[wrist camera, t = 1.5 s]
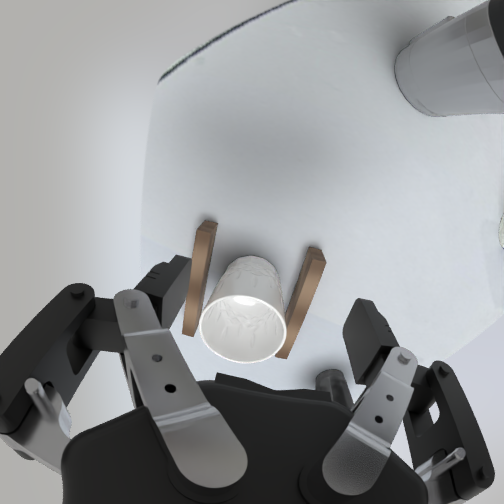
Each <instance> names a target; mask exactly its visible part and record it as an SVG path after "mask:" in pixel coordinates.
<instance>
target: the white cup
mask: <svg viewBox="0 0 504 504" xmlns="http://www.w3.org/2000/svg"><path fill="white" fill-rule="evenodd" d="M199 331H200V335H201V338H202V340H203V341H204V343H205V344H206V346H207V347H208V348H209V349H210V350H211V351H213V352H214V353H215V354H217V355H218V356H220V357H222V358H224V359H226V360H229V361H233V362H237V363H256V362H260V361H263V360H266V359H268V358H270V357H272V356H273V355H275V354H276V353H277V352H278V351H279V350H280V349H281V347H282V346H283V344H284V342H285V339H286V333H287V330H286V321H285V312H284V302H283V296H282V290H281V286H280V278H279V275H278V273H277V271H276V269H275V267H274V266H273V265H272V264H270V263H269V262H268V261H267V260H265V259H264V258H260V257H256V256H246V257H240V258H238V259H236V260H235V261H233V262H232V263H231V264H229V265H228V267H227V269H226V271H225V273H224V275H223V276H222V277H221V278H220V280H219V282H218V283H217V285H216V287H215V289H214V291H213V293H212V295H211V297H210V299H209V301H208V303H207V304H206V306H205V308H204V310H203V312H202V314H201V316H200V320H199Z"/></svg>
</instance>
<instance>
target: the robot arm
mask: <svg viewBox="0 0 504 504" xmlns="http://www.w3.org/2000/svg"><path fill="white" fill-rule="evenodd" d="M395 75H396V79H397V82H398V85H399V87H400V89H401V91H402V93H403V94H404V96H405V97H406V99H407V100H408V101H409V102H410V104H412V105H413V106H414V107H415V108H416V109H417V110H419V111H420V112H422V113H424V114H426V115H429V116H434V117H440V116H443V117H445V116H453V115H471V114H504V0H488V1H486V2H483V3H481V4H480V5H478V6H476V7H474V8H472V9H470V10H468V11H467V12H465V13H463V14H461V15H459V16H457V17H456V18H454V17H452V16H448V17H446V18H445V19H443V20H441V21H440V22H438V23H437V24H435V25H433V26H432V27H430V28H429V29H427V30H426V31H424V32H423V33H421V34H420V35H418V36H417V37H415V38H414V39H412V40H411V41H410V45H409V46H408V47H406V48H405V49H403V50H402V51H401V52H400V53H399V55H398V57H397V59H396V63H395ZM191 266H192V259H191V258H187V257H184V256H180V255H175V257H174V258H173V259H172V260H171V261H170V262H169V263H166V262H162V263H160V264H157V265H155V266H154V267H153V268H152V269H151V270H150V272H148V274H147V275H146V277H144V278H143V279H142V280H141V281H140V282H139V283H138V285H137V286H136V287H135V288H134V289H130V290H129V289H128V290H123V291H120V292H118V293H117V294H116V295H115V296H114V299H107V298H99V297H95V294H94V289H93V288H92V287H91V286H89V285H87V284H83V283H75V284H71V285H68V286H67V287H65V288H64V289H63V290H62V291H61V292H60V293H59V294H58V295H57V296H55V297H54V298H53V299H52V300H51V301H50V303H48V304H47V305H46V306H45V307H44V308H43V309H42V310H41V311H40V312H39V313H38V314H37V316H35V317H34V318H33V320H32V321H31V322H30V323H29V324H28V325H27V326H26V327H25V328H24V329H23V330H22V331H21V332H20V333H19V335H18V336H17V337H16V338H15V339H14V340H13V341H12V342H11V343H10V345H9V346H8V347H7V348H6V349H5V350H4V351H3V353H2V354H1V355H0V438H1V439H2V440H3V441H4V442H5V443H6V444H7V445H8V446H9V447H11V448H12V449H14V450H15V451H16V452H17V453H18V454H19V455H20V456H21V457H23V458H24V459H27V460H37V461H38V462H40V463H42V464H43V465H45V466H47V467H48V468H50V469H51V470H53V471H55V472H57V473H59V474H60V475H62V481H63V504H463V503H464V502H466V501H468V500H469V499H471V498H473V497H474V496H476V495H478V494H479V493H481V492H482V491H484V490H485V489H487V488H488V487H489V486H491V485H492V483H493V481H494V477H495V472H494V467H493V464H492V461H491V458H490V455H489V452H488V449H487V446H486V443H485V441H484V438H483V435H482V433H481V430H480V428H479V425H478V423H477V420H476V418H475V416H474V413H473V411H472V409H471V407H470V404H469V402H468V400H467V398H466V396H465V393H464V391H463V389H462V387H461V386H460V383H459V381H458V379H457V377H456V375H455V373H454V371H453V370H452V368H451V367H450V366H449V365H448V364H446V363H444V362H442V361H434V362H433V363H432V365H431V366H430V368H426V367H423V366H420V365H418V361H417V358H416V356H415V355H414V354H413V353H412V352H411V351H409V350H408V349H406V348H403V347H400V346H399V344H398V342H397V340H396V338H395V336H394V334H393V332H392V330H391V328H390V327H389V324H388V322H387V320H386V319H385V318H384V317H383V316H382V315H381V314H380V313H379V312H378V310H377V309H376V307H375V305H374V303H373V301H370V300H365V299H361V298H358V299H356V301H355V303H354V305H353V307H352V309H351V311H350V313H349V315H348V317H347V320H346V322H345V324H344V327H343V338H344V342H345V345H346V349H347V352H348V356H349V360H350V363H351V367H352V371H353V375H354V379H355V383H356V384H361V385H366V388H365V389H364V391H363V392H362V394H361V395H360V397H359V398H358V400H357V401H356V402H355V404H354V405H353V407H352V408H351V410H350V409H348V408H347V407H345V406H343V405H341V404H340V403H337V402H335V401H332V400H331V393H330V392H326V391H317V390H309V389H297V390H273V389H270V388H267V387H265V386H262V385H260V384H257V383H255V382H252V381H250V380H247V379H244V378H239V377H235V376H230V375H226V374H222V373H218V372H217V374H216V378H215V380H204V381H196V380H195V378H194V376H193V375H192V373H191V371H190V369H189V367H188V365H187V363H186V362H185V360H184V358H183V356H182V354H181V352H180V350H179V348H178V346H177V344H176V342H175V340H174V338H173V336H172V334H171V332H170V330H169V329H170V327H171V325H172V323H173V321H174V320H175V318H176V316H177V314H178V312H179V310H180V309H181V307H182V305H183V303H184V301H185V299H186V297H187V293H188V289H189V281H190V273H191ZM100 351H108V352H118V353H119V356H120V360H121V363H122V367H123V370H124V374H125V377H126V380H127V383H128V387H129V390H130V394H131V398H132V401H133V405H134V408H135V409H134V410H132V411H130V412H128V413H125V414H123V415H121V416H119V417H117V418H114V419H112V420H110V421H107V422H105V423H103V424H100V425H98V426H96V427H93V428H91V429H88V430H86V431H83V432H81V433H79V434H78V435H76V436H75V437H74V438H72V439H70V437H69V432H70V428H71V423H72V421H71V416H70V414H69V412H68V410H67V406H68V404H69V402H70V400H71V399H72V397H73V395H74V394H75V392H76V390H77V388H78V387H79V385H80V383H81V381H82V380H83V378H84V376H85V374H86V373H87V371H88V370H89V368H90V366H91V365H92V363H93V362H94V360H95V358H96V357H97V355H98V353H99V352H100ZM435 402H437V405H438V408H439V411H440V415H439V418H438V420H437V421H436V423H435V424H433V421H432V418H431V415H430V412H429V408H430V407H431V406H432V405H433V404H434V403H435ZM402 419H403V423H404V427H405V431H406V435H407V440H408V444H409V449H410V453H411V458H412V463H413V468H414V470H413V469H411V468H410V467H409V466H408V465H407V464H406V463H405V462H404V461H403V460H402V459H401V458H400V457H399V456H397V454H395V453H394V452H393V451H392V450H391V449H390V446H391V444H392V441H393V440H394V437H395V435H396V433H397V431H398V429H399V426H400V424H401V422H402Z"/></svg>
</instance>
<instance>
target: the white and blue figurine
mask: <svg viewBox="0 0 504 504" xmlns="http://www.w3.org/2000/svg"><path fill="white" fill-rule="evenodd" d="M499 241H500V244H501V246H502V248H503V249H504V214H503V216H502V219H501V222H500V227H499Z"/></svg>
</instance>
